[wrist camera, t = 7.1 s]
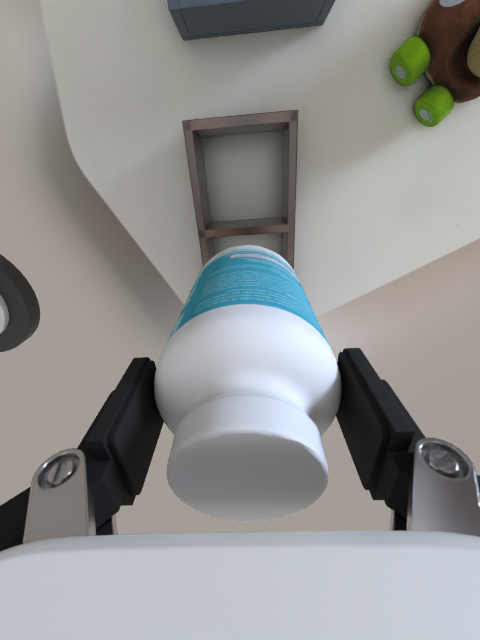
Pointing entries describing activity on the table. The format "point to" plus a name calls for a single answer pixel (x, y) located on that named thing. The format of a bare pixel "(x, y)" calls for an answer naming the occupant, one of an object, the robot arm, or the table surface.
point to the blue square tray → (244, 16)
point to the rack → (206, 228)
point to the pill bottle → (247, 390)
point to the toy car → (442, 58)
